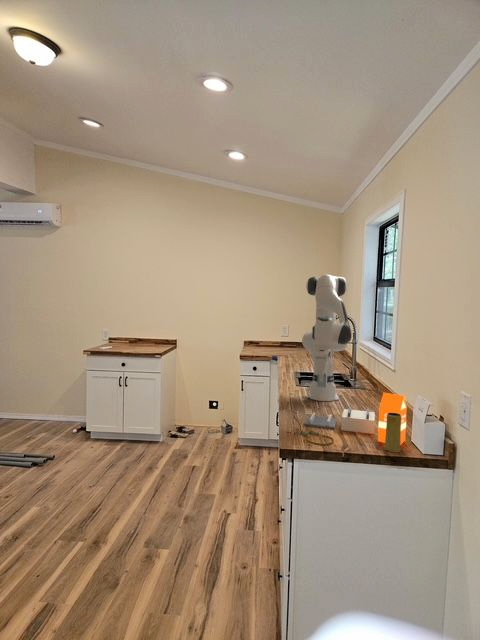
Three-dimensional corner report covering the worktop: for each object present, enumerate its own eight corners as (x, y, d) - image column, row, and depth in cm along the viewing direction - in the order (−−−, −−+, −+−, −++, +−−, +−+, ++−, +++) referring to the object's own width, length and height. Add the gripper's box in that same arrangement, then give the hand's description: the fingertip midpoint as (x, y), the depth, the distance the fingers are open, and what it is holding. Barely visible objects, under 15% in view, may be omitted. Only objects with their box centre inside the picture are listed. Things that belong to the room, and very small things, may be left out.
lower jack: (308, 417, 206) (308, 411, 206) (337, 420, 202) (337, 414, 201) (303, 425, 193) (303, 419, 192) (334, 429, 188) (334, 422, 188)
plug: (318, 385, 198) (318, 372, 198) (326, 385, 197) (327, 373, 197) (317, 386, 194) (317, 374, 194) (325, 387, 193) (326, 374, 193)
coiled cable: (326, 433, 184) (326, 429, 184) (337, 446, 168) (337, 441, 168) (299, 433, 183) (299, 429, 183) (307, 446, 167) (308, 441, 167)
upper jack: (343, 421, 201) (344, 404, 200) (374, 424, 196) (374, 408, 196) (341, 430, 187) (341, 412, 187) (374, 434, 183) (374, 416, 183)
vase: (400, 453, 161) (402, 417, 160) (383, 451, 163) (385, 415, 162) (400, 448, 166) (402, 413, 166) (384, 445, 169) (386, 411, 168)
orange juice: (384, 436, 180) (386, 390, 179) (405, 441, 174) (407, 394, 173) (377, 441, 174) (379, 394, 173) (399, 446, 168) (401, 397, 167)
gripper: (319, 348, 206) (318, 376, 206) (313, 353, 186) (312, 384, 187) (332, 349, 204) (331, 377, 205) (327, 354, 184) (326, 385, 185)
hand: (322, 380), depth 196 cm, fingers closed on plug, 4 cm apart
